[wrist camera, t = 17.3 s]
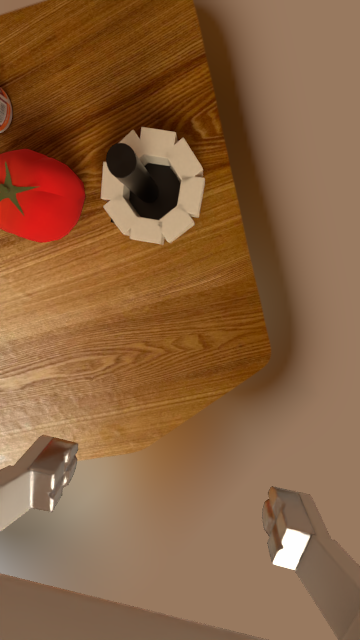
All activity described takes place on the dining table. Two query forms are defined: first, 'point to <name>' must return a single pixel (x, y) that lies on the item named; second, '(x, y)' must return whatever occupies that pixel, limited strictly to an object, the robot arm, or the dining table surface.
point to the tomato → (38, 196)
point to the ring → (188, 170)
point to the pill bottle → (5, 111)
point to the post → (144, 182)
